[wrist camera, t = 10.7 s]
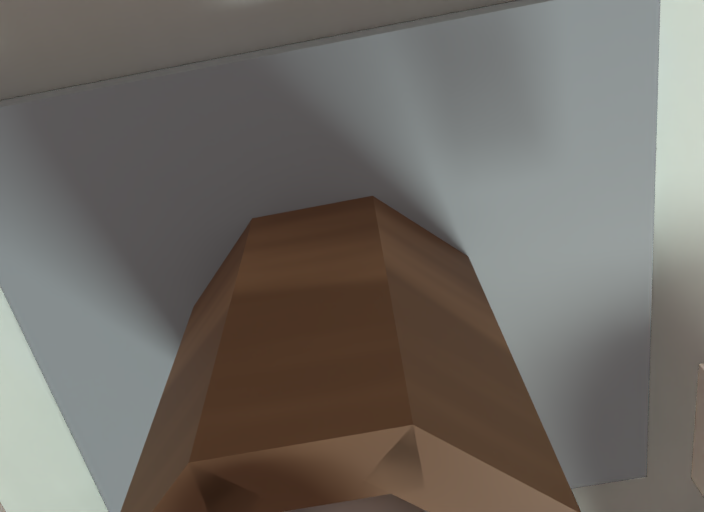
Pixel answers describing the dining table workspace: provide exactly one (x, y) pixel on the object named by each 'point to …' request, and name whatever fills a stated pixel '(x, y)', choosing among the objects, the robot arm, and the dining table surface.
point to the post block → (346, 184)
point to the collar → (345, 379)
